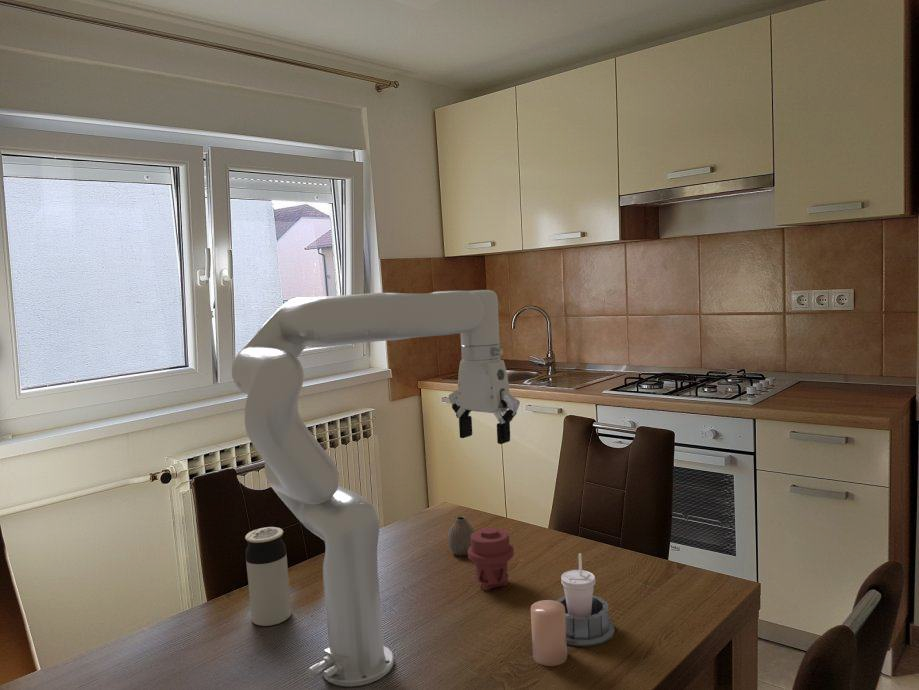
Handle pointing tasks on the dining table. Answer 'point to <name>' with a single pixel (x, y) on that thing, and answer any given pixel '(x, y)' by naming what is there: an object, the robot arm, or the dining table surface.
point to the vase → (460, 536)
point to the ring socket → (589, 625)
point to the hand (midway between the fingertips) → (484, 439)
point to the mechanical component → (491, 556)
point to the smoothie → (578, 590)
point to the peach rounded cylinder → (549, 632)
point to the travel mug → (268, 576)
